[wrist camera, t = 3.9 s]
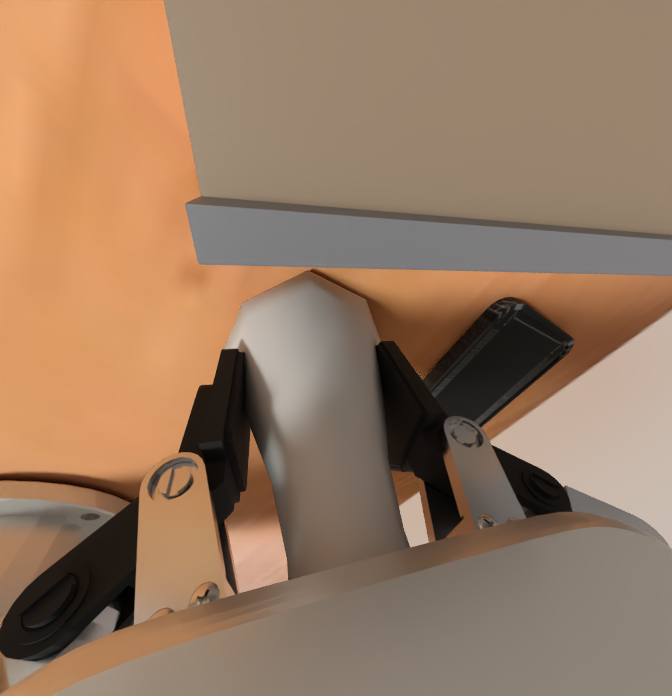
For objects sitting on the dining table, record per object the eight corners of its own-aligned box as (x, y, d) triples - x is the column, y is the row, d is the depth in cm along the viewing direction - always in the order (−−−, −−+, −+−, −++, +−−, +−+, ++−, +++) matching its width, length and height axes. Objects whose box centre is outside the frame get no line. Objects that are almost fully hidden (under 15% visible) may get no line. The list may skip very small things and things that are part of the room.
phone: (580, 343, 15) (427, 473, 22) (563, 333, 16) (420, 461, 23) (514, 295, 12) (354, 467, 18) (497, 286, 13) (350, 453, 19)
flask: (403, 340, 13) (606, 603, 5) (306, 415, 15) (348, 693, 7) (307, 232, 9) (584, 702, 1) (190, 355, 11) (-15, 854, 3)
